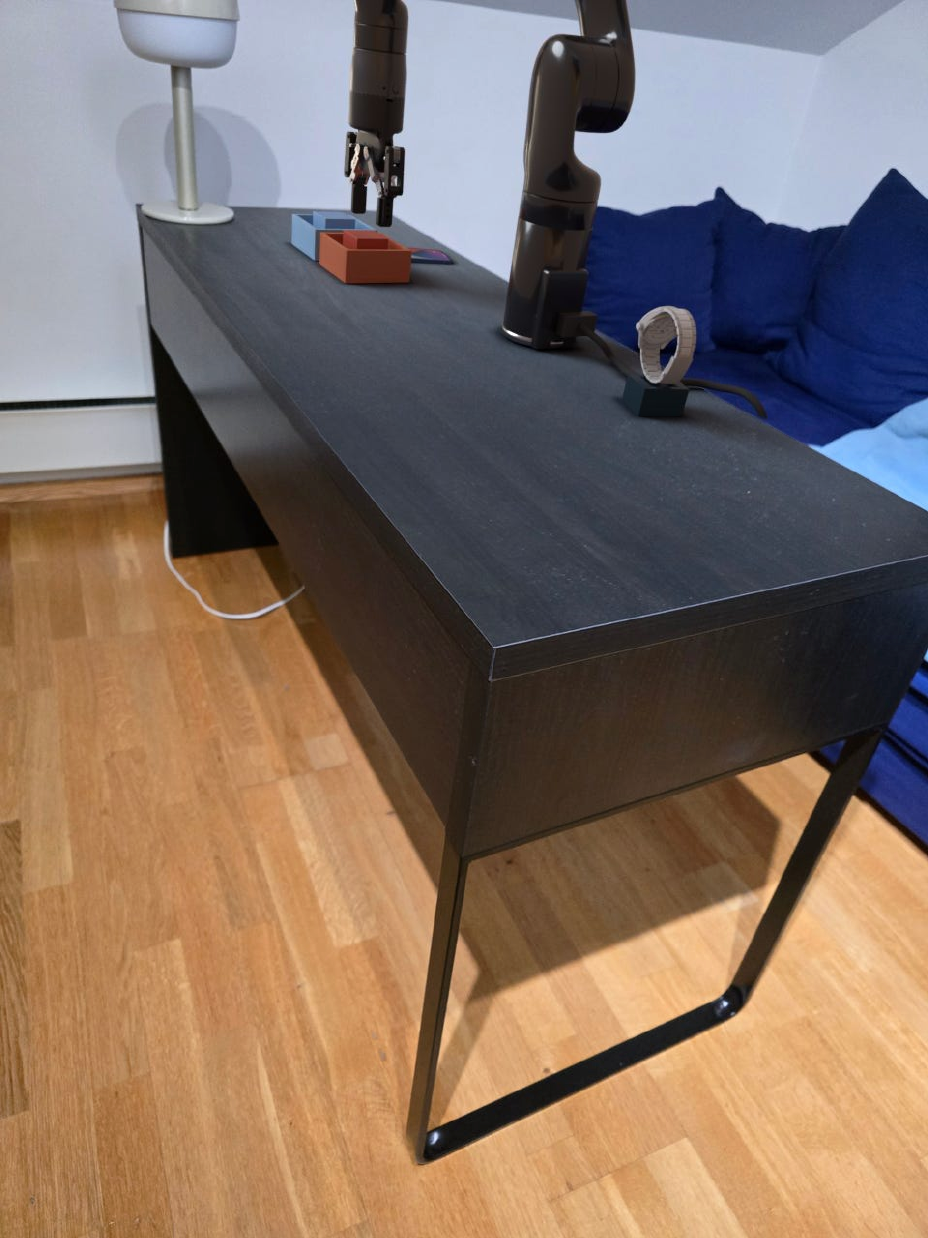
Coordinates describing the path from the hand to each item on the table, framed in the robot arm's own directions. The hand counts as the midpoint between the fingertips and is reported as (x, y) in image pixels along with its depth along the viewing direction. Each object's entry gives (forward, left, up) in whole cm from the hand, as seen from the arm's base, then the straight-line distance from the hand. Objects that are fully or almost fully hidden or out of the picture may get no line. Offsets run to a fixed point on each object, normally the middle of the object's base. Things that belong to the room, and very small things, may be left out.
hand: (370, 219), depth 127 cm
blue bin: (+12, 0, -8) cm, 14 cm away
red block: (0, 0, -7) cm, 7 cm away
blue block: (+12, 0, -7) cm, 14 cm away
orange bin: (0, 0, -8) cm, 8 cm away
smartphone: (+10, -11, -8) cm, 17 cm away
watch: (-55, -11, -8) cm, 56 cm away
